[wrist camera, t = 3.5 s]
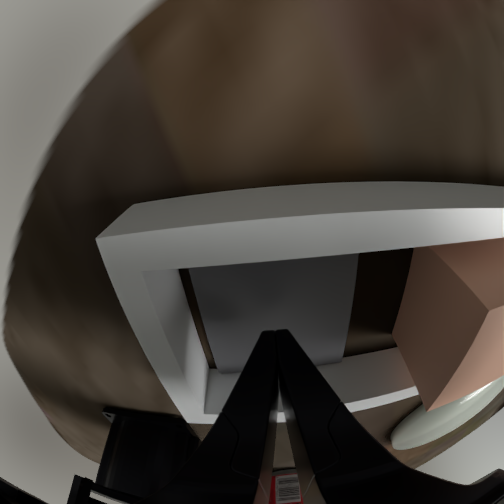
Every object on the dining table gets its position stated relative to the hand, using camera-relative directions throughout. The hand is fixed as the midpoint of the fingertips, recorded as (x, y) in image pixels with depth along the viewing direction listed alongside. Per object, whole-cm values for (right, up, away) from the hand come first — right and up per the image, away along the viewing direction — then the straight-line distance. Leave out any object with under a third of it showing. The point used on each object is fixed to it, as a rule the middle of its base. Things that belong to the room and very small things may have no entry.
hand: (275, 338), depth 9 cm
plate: (+18, -12, +8) cm, 23 cm away
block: (+8, +1, +1) cm, 8 cm away
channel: (+7, +1, +1) cm, 7 cm away
